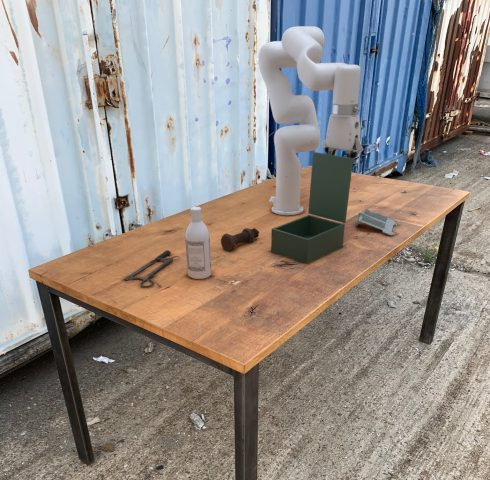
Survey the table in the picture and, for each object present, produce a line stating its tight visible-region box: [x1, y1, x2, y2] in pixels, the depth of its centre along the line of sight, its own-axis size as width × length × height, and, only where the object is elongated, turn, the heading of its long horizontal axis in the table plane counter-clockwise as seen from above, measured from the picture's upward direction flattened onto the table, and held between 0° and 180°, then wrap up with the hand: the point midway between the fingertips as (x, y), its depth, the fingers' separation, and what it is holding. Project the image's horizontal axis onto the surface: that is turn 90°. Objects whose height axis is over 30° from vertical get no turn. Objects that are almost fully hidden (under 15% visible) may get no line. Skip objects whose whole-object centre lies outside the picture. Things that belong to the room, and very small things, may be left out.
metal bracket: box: [354, 208, 398, 236], centre depth 181 cm, size 14×6×15 cm
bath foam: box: [184, 206, 212, 280], centre depth 143 cm, size 7×7×20 cm
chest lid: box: [307, 151, 354, 224], centre depth 163 cm, size 20×15×5 cm
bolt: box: [220, 227, 260, 252], centre depth 168 cm, size 6×5×15 cm
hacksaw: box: [124, 249, 181, 288], centre depth 151 cm, size 24×10×2 cm, turn 153°
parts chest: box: [270, 214, 346, 265], centre depth 162 cm, size 19×15×8 cm
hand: (339, 170), depth 162 cm, fingers closed on chest lid, 5 cm apart
